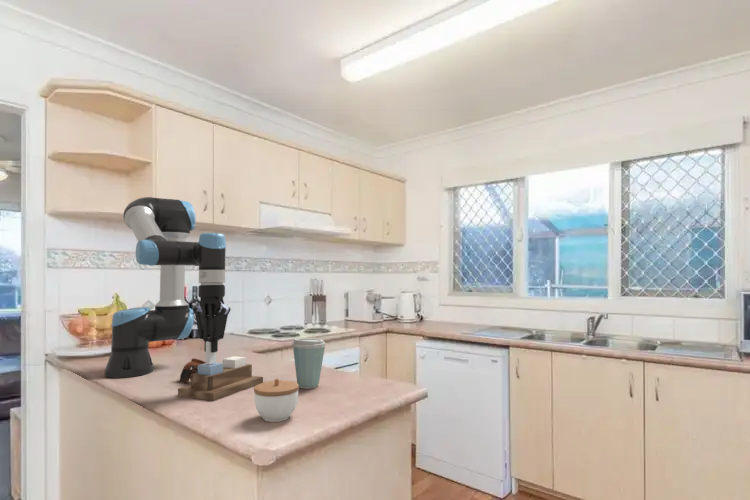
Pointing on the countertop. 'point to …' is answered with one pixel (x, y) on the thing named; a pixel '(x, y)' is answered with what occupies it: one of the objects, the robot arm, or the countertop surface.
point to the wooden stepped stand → (220, 383)
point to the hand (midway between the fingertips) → (210, 363)
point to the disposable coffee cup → (308, 361)
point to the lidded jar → (276, 399)
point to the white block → (234, 362)
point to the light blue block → (210, 369)
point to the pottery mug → (187, 372)
